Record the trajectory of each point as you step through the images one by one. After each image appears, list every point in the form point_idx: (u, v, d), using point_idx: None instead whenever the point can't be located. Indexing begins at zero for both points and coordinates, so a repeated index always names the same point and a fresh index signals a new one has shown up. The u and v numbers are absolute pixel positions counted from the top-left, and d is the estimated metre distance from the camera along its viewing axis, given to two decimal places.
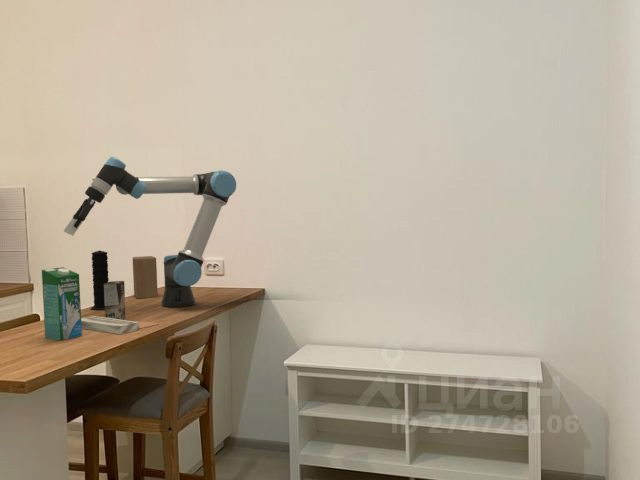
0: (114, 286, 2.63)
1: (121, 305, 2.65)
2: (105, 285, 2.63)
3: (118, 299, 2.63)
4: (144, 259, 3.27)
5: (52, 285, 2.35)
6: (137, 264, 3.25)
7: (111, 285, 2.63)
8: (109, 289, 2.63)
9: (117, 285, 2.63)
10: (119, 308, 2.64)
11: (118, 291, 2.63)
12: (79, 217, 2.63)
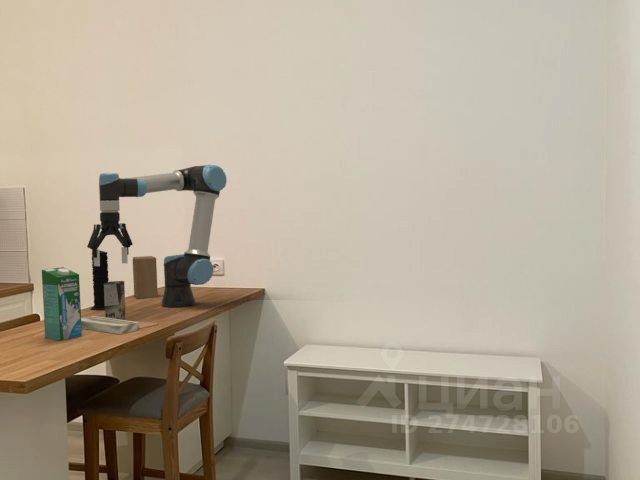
0: (114, 286, 2.63)
1: (121, 305, 2.65)
2: (105, 285, 2.63)
3: (118, 299, 2.63)
4: (144, 259, 3.27)
5: (52, 285, 2.35)
6: (137, 264, 3.25)
7: (111, 285, 2.63)
8: (109, 289, 2.63)
9: (117, 285, 2.63)
10: (119, 308, 2.64)
11: (118, 291, 2.63)
12: (88, 247, 2.59)
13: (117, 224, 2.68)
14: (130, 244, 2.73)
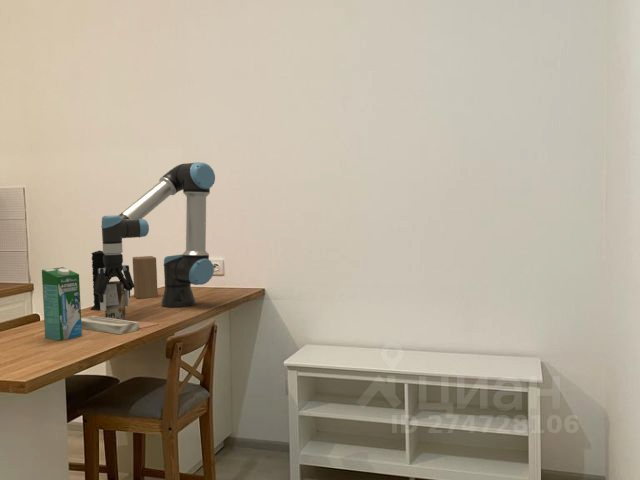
0: (114, 286, 2.63)
1: (121, 305, 2.65)
2: None
3: (118, 299, 2.63)
4: (144, 259, 3.27)
5: (52, 285, 2.35)
6: (137, 264, 3.25)
7: (111, 285, 2.63)
8: (109, 289, 2.63)
9: (117, 285, 2.63)
10: (119, 308, 2.64)
11: (118, 291, 2.63)
12: (94, 292, 2.60)
13: (120, 266, 2.68)
14: (132, 286, 2.73)
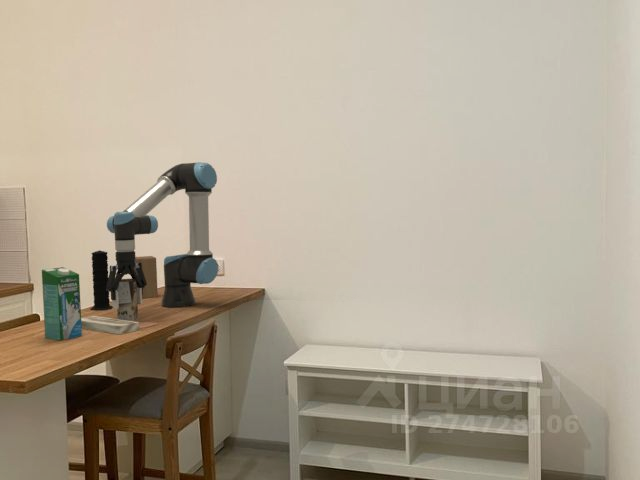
0: (126, 284, 2.58)
1: (134, 303, 2.61)
2: None
3: (131, 297, 2.59)
4: (144, 259, 3.27)
5: (52, 285, 2.35)
6: None
7: (123, 282, 2.58)
8: (122, 286, 2.58)
9: (130, 282, 2.58)
10: (132, 306, 2.59)
11: (131, 289, 2.59)
12: (106, 290, 2.56)
13: (133, 263, 2.64)
14: (144, 284, 2.68)
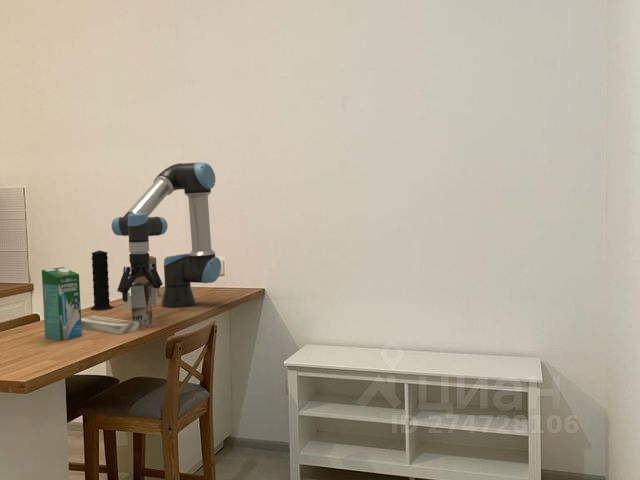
0: (141, 288, 2.54)
1: (148, 307, 2.56)
2: (132, 287, 2.54)
3: (145, 301, 2.54)
4: None
5: (52, 285, 2.35)
6: None
7: (138, 287, 2.54)
8: (136, 291, 2.54)
9: (144, 287, 2.54)
10: (146, 310, 2.55)
11: (145, 293, 2.54)
12: (118, 291, 2.50)
13: (147, 265, 2.59)
14: (160, 284, 2.65)
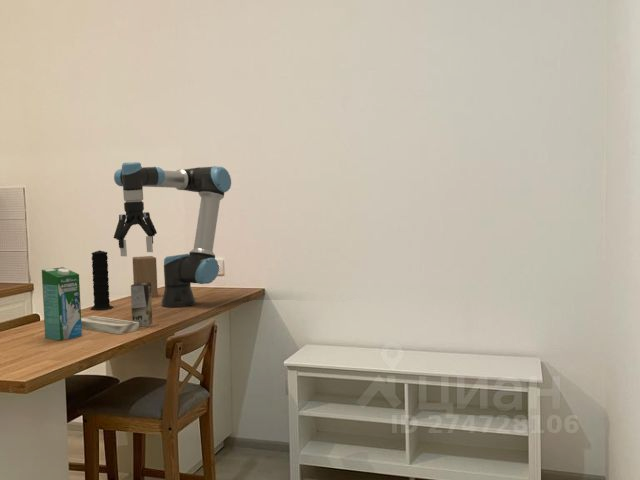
0: (141, 288, 2.54)
1: (148, 307, 2.56)
2: (132, 287, 2.54)
3: (145, 301, 2.54)
4: (144, 259, 3.27)
5: (52, 285, 2.35)
6: (137, 264, 3.25)
7: (138, 287, 2.54)
8: (136, 291, 2.54)
9: (144, 287, 2.54)
10: (146, 310, 2.55)
11: (145, 293, 2.54)
12: None
13: (141, 213, 2.67)
14: (154, 233, 2.73)
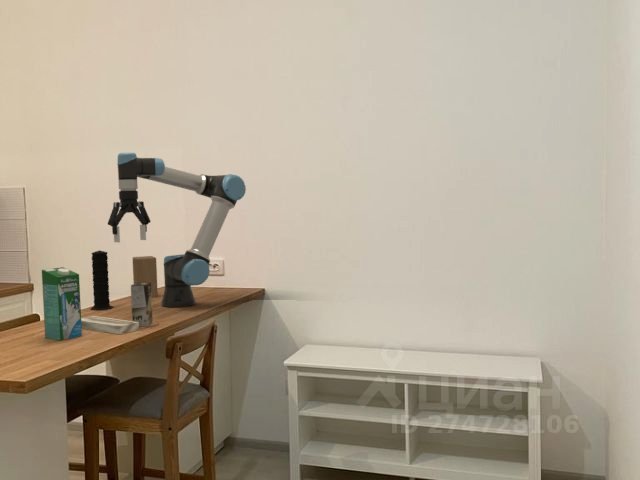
0: (141, 288, 2.54)
1: (148, 307, 2.56)
2: (132, 287, 2.54)
3: (145, 301, 2.54)
4: (144, 259, 3.27)
5: (52, 285, 2.35)
6: (137, 264, 3.25)
7: (138, 287, 2.54)
8: (136, 291, 2.54)
9: (144, 287, 2.54)
10: (146, 310, 2.55)
11: (145, 293, 2.54)
12: (108, 224, 2.69)
13: (135, 202, 2.78)
14: (148, 221, 2.83)
